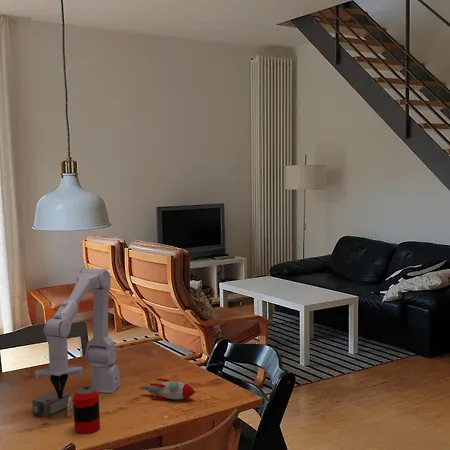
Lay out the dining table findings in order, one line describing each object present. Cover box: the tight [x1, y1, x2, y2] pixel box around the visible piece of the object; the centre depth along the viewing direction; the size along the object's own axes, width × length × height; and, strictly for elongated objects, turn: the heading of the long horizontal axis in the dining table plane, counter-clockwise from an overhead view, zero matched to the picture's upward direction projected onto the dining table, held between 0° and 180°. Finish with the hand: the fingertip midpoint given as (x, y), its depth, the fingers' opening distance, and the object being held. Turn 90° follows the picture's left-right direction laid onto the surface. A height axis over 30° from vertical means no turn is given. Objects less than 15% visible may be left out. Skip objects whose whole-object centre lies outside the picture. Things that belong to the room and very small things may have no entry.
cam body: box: [31, 389, 72, 418], centre depth 203 cm, size 7×12×5 cm, turn 146°
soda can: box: [72, 386, 101, 435], centre depth 188 cm, size 8×8×12 cm
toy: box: [139, 378, 196, 401], centre depth 212 cm, size 21×7×7 cm
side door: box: [66, 395, 74, 418], centre depth 201 cm, size 2×8×4 cm, turn 11°
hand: (60, 397), depth 198 cm, fingers closed
